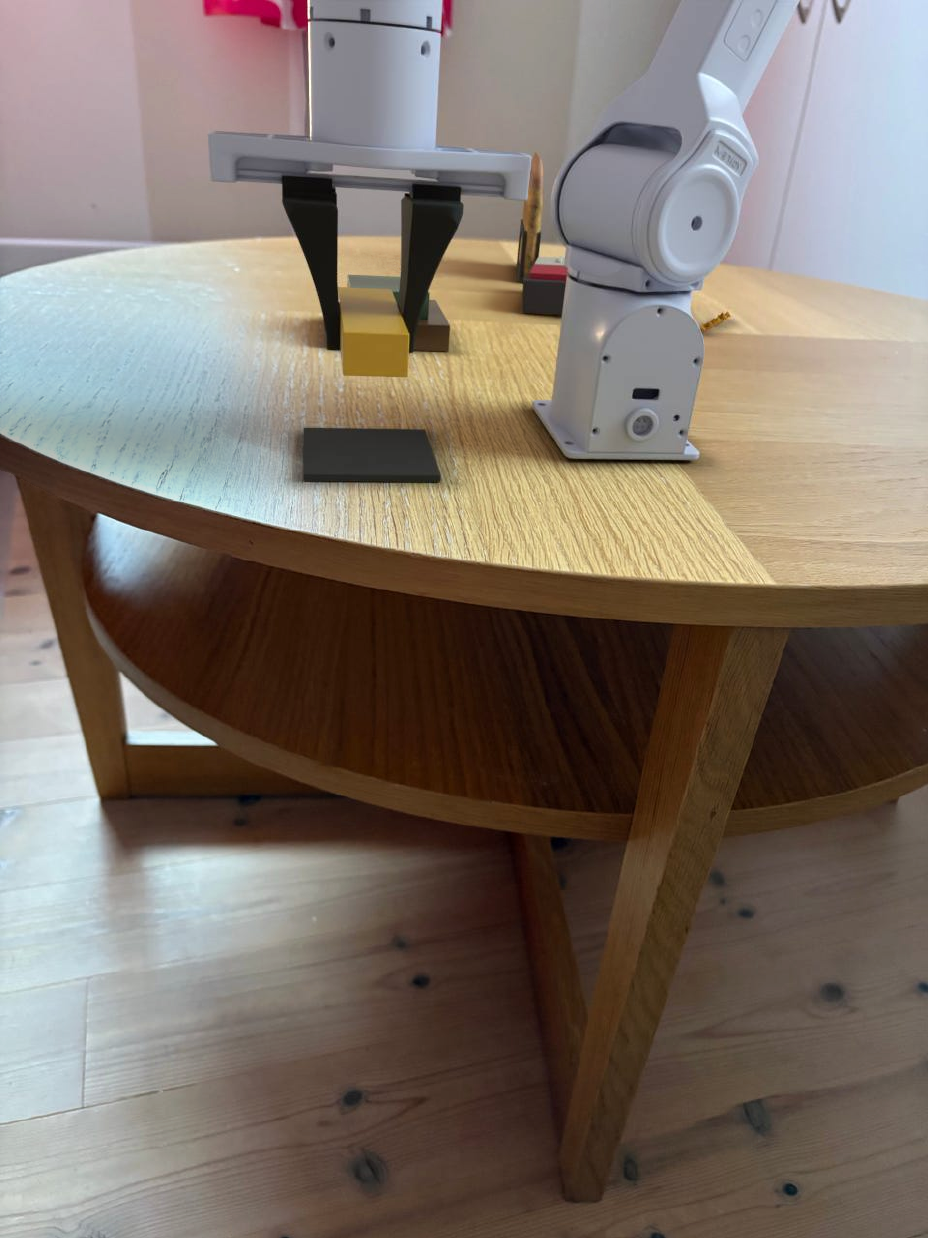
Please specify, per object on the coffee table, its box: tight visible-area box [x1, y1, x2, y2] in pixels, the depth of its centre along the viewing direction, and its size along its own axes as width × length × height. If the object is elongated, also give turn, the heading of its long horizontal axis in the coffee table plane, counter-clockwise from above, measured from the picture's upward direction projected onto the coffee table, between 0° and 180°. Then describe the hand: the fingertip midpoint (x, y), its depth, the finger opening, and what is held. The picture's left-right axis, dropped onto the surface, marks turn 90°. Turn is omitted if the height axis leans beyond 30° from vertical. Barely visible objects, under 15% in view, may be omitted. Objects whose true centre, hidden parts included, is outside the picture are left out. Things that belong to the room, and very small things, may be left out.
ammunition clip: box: [516, 151, 544, 284], centre depth 97 cm, size 11×2×12 cm, turn 178°
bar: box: [338, 286, 410, 378], centre depth 45 cm, size 10×3×2 cm, turn 9°
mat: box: [302, 427, 442, 483], centre depth 48 cm, size 7×7×1 cm
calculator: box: [521, 256, 568, 316], centre depth 85 cm, size 11×4×15 cm
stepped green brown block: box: [346, 274, 451, 352], centre depth 71 cm, size 9×9×4 cm
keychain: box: [700, 311, 732, 332], centre depth 82 cm, size 8×1×1 cm, turn 148°
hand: (369, 346), depth 45 cm, fingers closed on bar, 3 cm apart
